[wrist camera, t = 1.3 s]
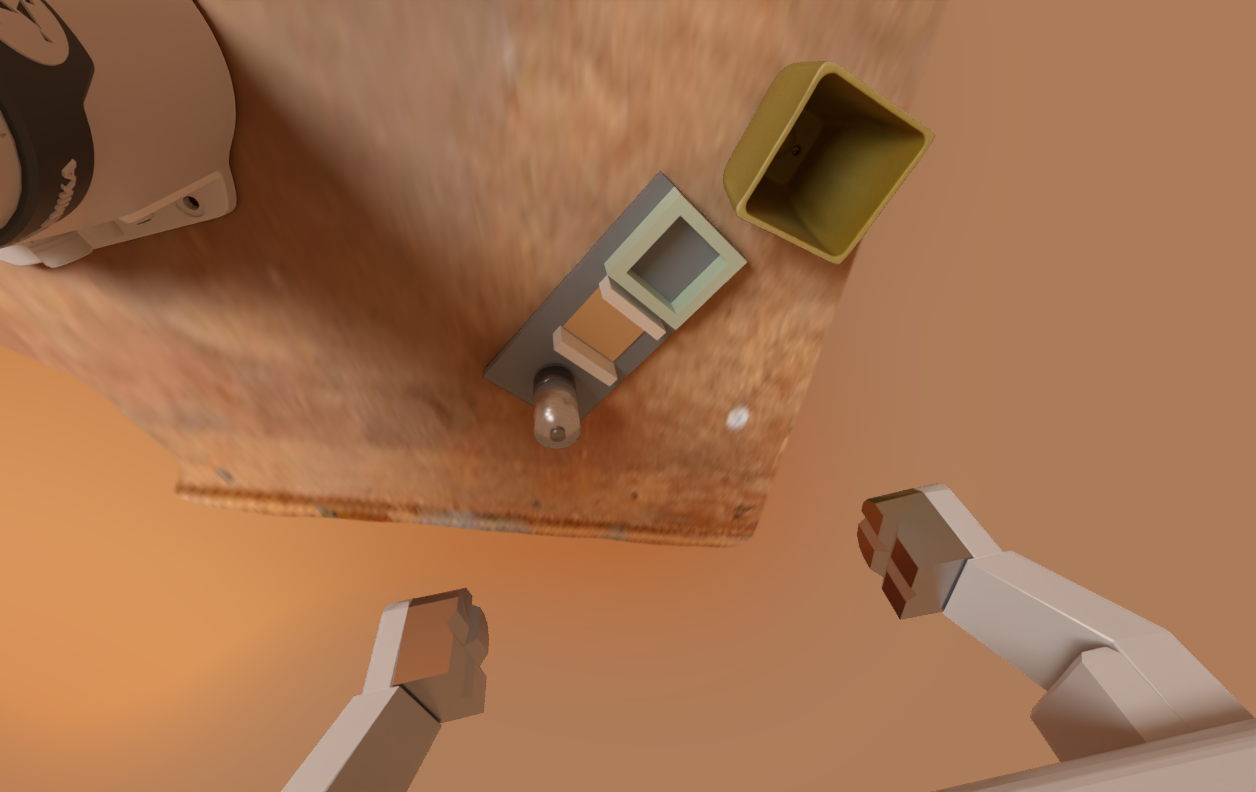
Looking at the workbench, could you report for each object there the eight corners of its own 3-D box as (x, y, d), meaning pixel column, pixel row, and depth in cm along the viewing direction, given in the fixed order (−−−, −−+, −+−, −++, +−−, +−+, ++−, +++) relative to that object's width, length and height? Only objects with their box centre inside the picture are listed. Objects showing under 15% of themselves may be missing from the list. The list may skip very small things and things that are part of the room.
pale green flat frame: (670, 318, 43) (675, 330, 42) (604, 263, 39) (607, 274, 38) (738, 251, 41) (747, 262, 39) (674, 186, 37) (680, 194, 35)
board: (571, 421, 50) (572, 428, 49) (483, 370, 45) (482, 377, 44) (743, 256, 42) (747, 261, 41) (660, 170, 37) (663, 174, 36)
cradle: (606, 369, 46) (609, 386, 44) (552, 333, 42) (553, 349, 41) (659, 316, 43) (666, 332, 41) (607, 274, 40) (611, 288, 38)
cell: (545, 401, 47) (548, 459, 41) (525, 372, 44) (525, 429, 39) (581, 385, 46) (589, 442, 40) (563, 356, 44) (568, 411, 38)
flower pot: (787, 221, 41) (840, 268, 34) (695, 174, 37) (733, 215, 30) (860, 108, 36) (940, 134, 29) (764, 42, 33) (827, 55, 26)
